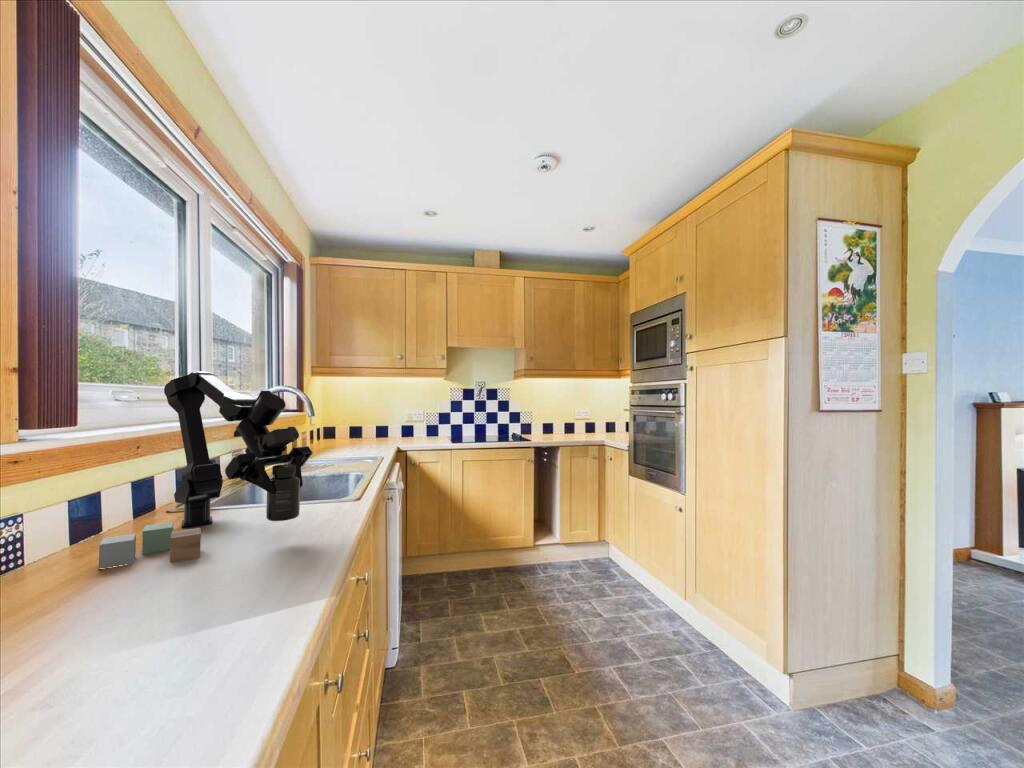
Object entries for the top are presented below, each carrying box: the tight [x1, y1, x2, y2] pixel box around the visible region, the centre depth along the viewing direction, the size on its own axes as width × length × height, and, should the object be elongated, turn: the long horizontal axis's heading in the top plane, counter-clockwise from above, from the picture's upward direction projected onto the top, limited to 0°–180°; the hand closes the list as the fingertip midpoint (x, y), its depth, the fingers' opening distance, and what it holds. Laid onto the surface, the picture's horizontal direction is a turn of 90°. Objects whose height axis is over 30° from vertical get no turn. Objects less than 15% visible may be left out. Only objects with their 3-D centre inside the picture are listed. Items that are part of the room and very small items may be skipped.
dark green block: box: [141, 521, 174, 555], centre depth 95 cm, size 5×5×5 cm
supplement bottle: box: [265, 464, 301, 522], centre depth 100 cm, size 7×7×12 cm
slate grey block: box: [98, 533, 137, 569], centre depth 87 cm, size 5×5×5 cm
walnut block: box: [169, 527, 202, 563], centre depth 91 cm, size 5×5×5 cm
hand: (287, 489), depth 99 cm, fingers closed on supplement bottle, 7 cm apart
